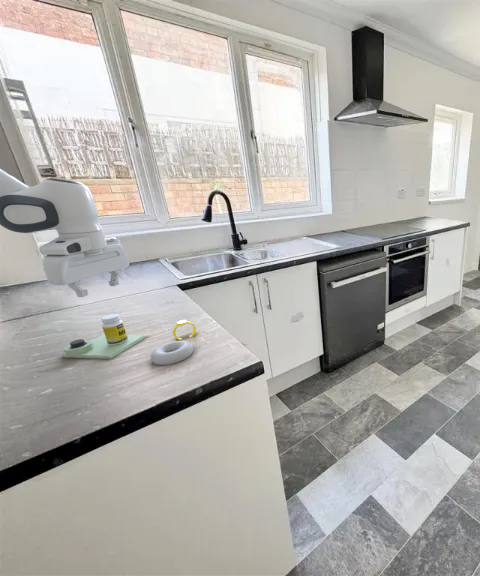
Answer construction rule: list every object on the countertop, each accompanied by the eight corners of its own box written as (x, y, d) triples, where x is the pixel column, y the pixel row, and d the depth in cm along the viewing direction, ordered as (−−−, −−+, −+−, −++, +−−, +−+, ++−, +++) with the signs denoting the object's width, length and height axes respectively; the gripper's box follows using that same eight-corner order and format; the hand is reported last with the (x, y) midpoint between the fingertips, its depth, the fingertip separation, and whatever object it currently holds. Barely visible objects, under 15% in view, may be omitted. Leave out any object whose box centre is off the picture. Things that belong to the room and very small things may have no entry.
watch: (195, 333, 100) (191, 317, 98) (198, 336, 99) (194, 319, 97) (174, 340, 96) (169, 323, 94) (177, 343, 94) (172, 326, 93)
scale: (61, 359, 87) (57, 350, 86) (102, 338, 98) (99, 329, 97) (109, 360, 86) (106, 351, 85) (145, 339, 97) (142, 330, 96)
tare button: (68, 348, 87) (66, 344, 87) (79, 343, 90) (77, 338, 89) (78, 349, 87) (76, 344, 86) (88, 343, 90) (87, 339, 89)
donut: (185, 365, 83) (199, 346, 92) (182, 354, 82) (197, 336, 91) (144, 370, 81) (163, 350, 91) (141, 358, 80) (160, 339, 89)
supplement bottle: (124, 344, 92) (116, 318, 89) (105, 347, 90) (96, 321, 87) (130, 337, 96) (123, 312, 93) (112, 339, 94) (104, 314, 92)
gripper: (108, 236, 93) (121, 279, 97) (30, 249, 74) (50, 303, 78) (128, 236, 93) (140, 280, 97) (55, 249, 73) (73, 303, 78)
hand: (99, 290), depth 87 cm, fingers open, 8 cm apart
